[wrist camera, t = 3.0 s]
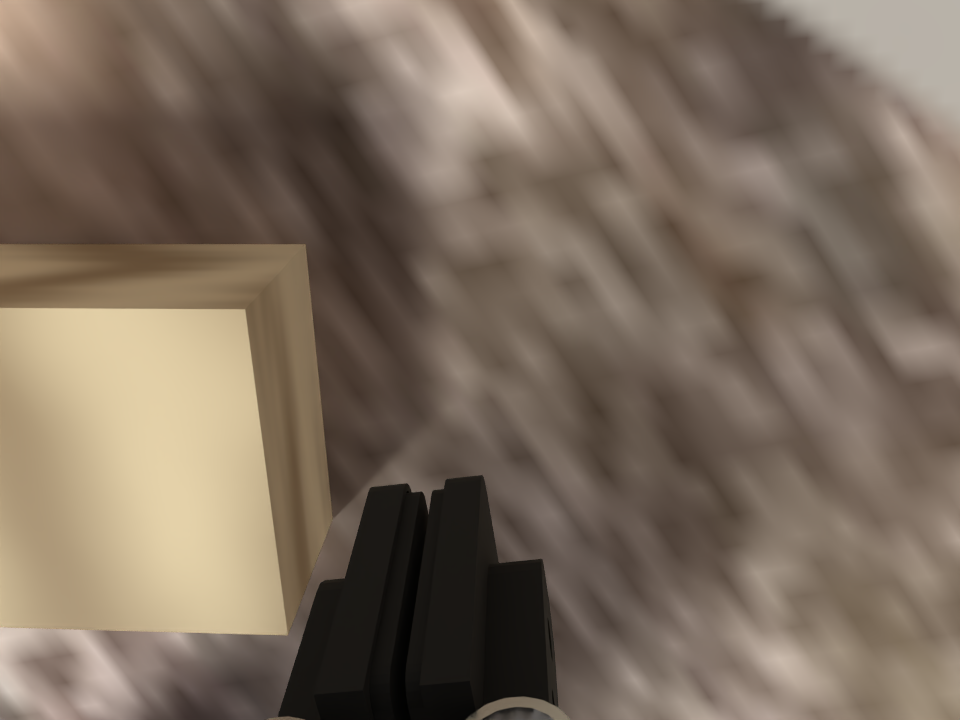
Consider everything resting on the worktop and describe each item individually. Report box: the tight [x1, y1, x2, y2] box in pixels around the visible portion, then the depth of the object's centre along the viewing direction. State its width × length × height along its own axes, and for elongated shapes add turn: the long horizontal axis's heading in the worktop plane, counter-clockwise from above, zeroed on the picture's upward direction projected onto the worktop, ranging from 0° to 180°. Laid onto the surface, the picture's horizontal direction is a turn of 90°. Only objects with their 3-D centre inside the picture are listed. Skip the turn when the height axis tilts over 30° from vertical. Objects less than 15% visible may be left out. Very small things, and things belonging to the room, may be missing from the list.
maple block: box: [0, 244, 333, 635], centre depth 21 cm, size 10×8×5 cm
